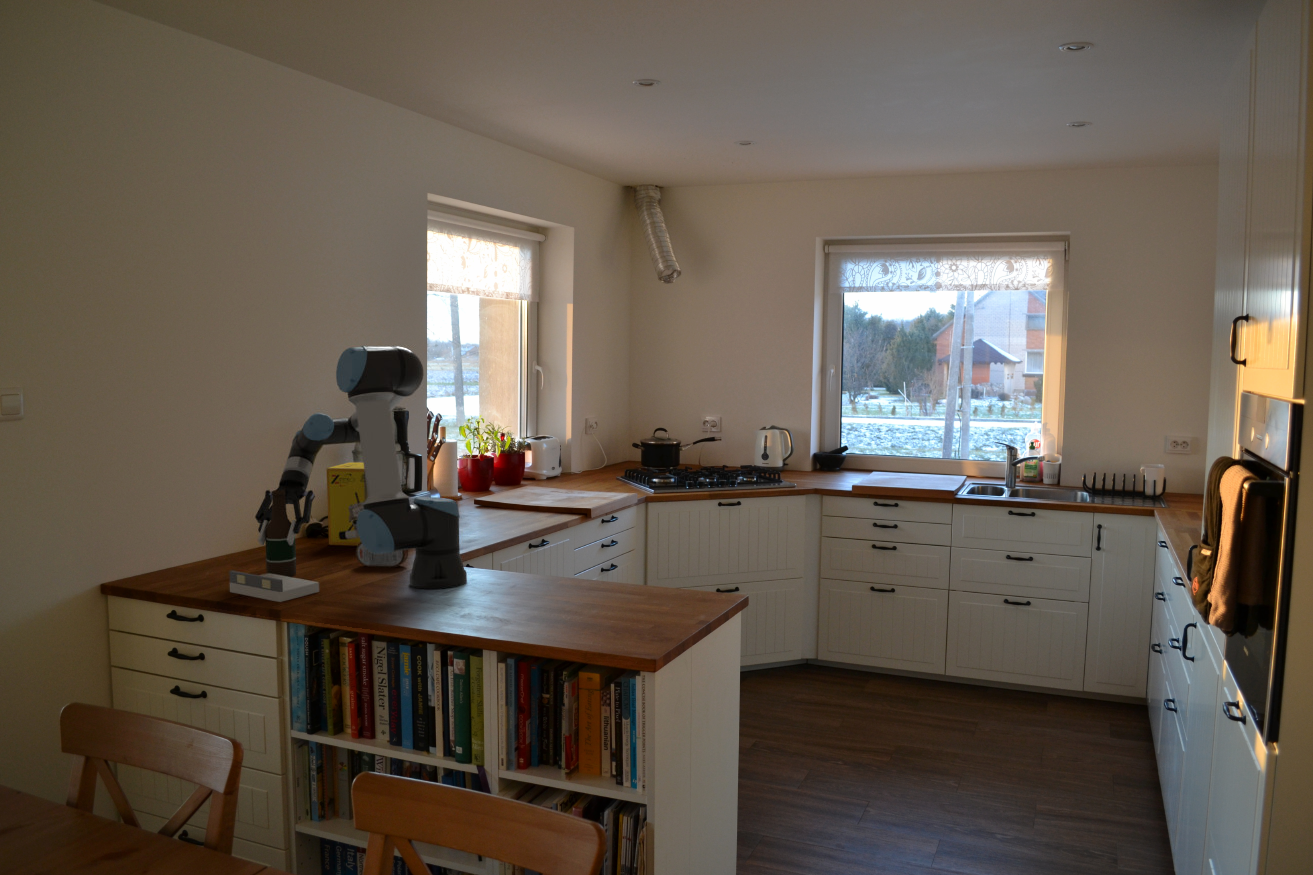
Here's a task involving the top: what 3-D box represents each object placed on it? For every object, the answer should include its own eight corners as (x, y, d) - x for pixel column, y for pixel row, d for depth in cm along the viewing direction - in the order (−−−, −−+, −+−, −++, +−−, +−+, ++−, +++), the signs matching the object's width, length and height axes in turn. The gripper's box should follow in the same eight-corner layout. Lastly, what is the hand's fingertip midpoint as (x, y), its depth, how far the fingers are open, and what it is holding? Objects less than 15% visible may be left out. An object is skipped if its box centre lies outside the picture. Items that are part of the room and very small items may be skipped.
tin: (408, 566, 281) (408, 537, 280) (405, 568, 278) (404, 539, 277) (359, 565, 283) (358, 536, 282) (354, 567, 280) (353, 538, 279)
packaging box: (376, 546, 309) (373, 468, 307) (329, 544, 312) (326, 468, 309) (397, 536, 325) (395, 462, 323) (352, 535, 328) (350, 462, 325)
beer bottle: (260, 576, 268) (257, 491, 266) (283, 570, 275) (280, 487, 273) (280, 579, 265) (277, 493, 262) (302, 573, 272) (299, 489, 269)
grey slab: (319, 591, 252) (318, 570, 251) (279, 602, 241) (278, 580, 241) (269, 582, 262) (268, 562, 261) (229, 591, 252) (228, 571, 251)
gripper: (333, 484, 283) (315, 549, 268) (265, 484, 283) (243, 549, 269) (326, 468, 277) (307, 534, 262) (257, 468, 277) (233, 534, 263)
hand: (275, 542), depth 266 cm, fingers closed on beer bottle, 7 cm apart
